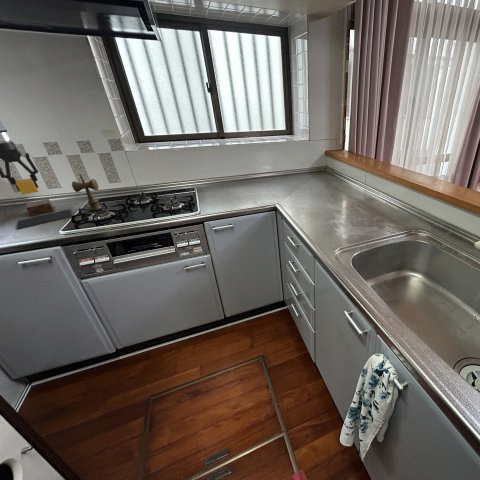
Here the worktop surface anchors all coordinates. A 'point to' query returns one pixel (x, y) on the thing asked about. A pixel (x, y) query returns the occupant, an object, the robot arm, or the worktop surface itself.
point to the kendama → (88, 192)
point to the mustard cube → (26, 186)
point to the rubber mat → (43, 219)
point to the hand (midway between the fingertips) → (28, 188)
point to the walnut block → (39, 207)
